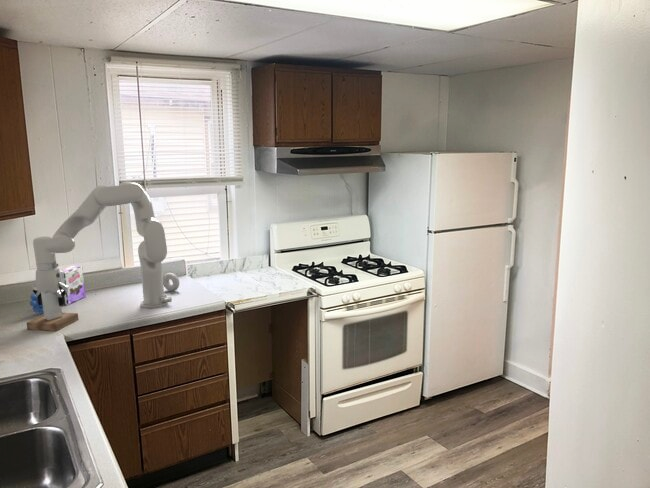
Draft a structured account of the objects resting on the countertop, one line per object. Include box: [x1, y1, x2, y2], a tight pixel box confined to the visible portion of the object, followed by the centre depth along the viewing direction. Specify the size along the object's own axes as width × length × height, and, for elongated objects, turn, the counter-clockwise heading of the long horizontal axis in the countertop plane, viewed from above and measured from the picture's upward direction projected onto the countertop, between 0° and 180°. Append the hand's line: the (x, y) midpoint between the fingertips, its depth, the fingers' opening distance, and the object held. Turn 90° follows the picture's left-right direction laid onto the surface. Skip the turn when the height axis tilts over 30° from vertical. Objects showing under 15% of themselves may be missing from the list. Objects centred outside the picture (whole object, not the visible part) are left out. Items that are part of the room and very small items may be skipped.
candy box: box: [59, 265, 87, 306], centre depth 256 cm, size 14×6×16 cm, turn 168°
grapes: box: [29, 292, 44, 315], centre depth 237 cm, size 12×7×12 cm, turn 166°
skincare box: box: [41, 292, 63, 320], centre depth 223 cm, size 6×4×12 cm
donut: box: [163, 272, 180, 292], centre depth 271 cm, size 10×3×10 cm, turn 66°
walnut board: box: [26, 312, 79, 332], centre depth 224 cm, size 14×14×3 cm
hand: (52, 304), depth 223 cm, fingers open, 9 cm apart
